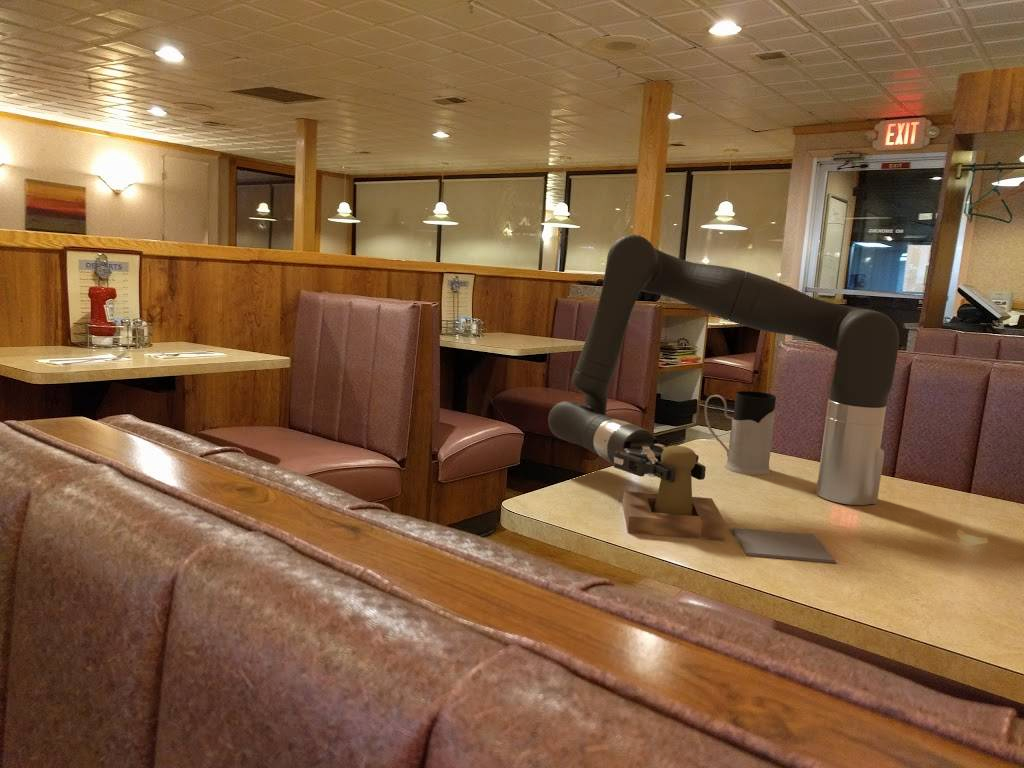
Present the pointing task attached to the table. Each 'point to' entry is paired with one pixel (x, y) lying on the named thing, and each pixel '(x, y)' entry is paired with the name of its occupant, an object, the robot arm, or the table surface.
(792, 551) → the rubber mat
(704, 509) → the socket block
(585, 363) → the robot arm
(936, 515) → the table surface
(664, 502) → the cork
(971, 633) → the table surface
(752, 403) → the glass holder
